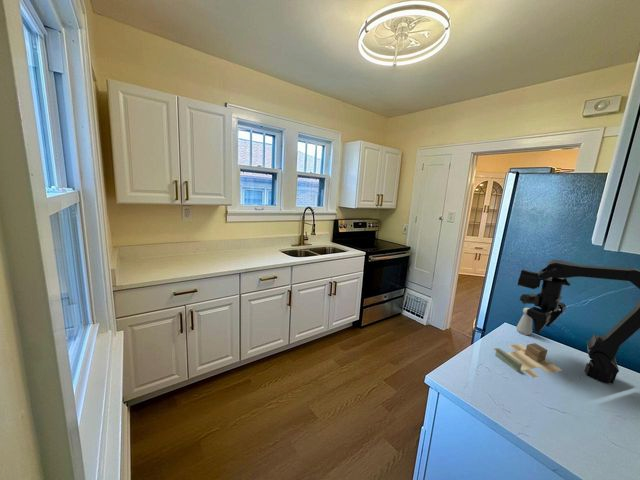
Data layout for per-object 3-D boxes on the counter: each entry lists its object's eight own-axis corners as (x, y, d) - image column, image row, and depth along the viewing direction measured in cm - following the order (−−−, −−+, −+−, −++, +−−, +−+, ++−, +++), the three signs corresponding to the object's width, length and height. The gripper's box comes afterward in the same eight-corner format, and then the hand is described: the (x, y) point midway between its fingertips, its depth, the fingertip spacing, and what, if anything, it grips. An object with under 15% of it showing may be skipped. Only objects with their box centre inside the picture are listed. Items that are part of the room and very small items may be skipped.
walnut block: (532, 352, 106) (535, 343, 104) (544, 360, 101) (547, 350, 100) (524, 354, 104) (527, 344, 103) (536, 361, 100) (539, 351, 99)
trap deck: (519, 346, 111) (521, 337, 110) (562, 372, 97) (565, 363, 96) (486, 352, 106) (488, 343, 105) (526, 381, 92) (529, 371, 91)
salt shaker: (518, 336, 119) (524, 310, 115) (513, 329, 124) (519, 305, 121) (533, 339, 117) (540, 313, 114) (527, 332, 122) (534, 307, 119)
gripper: (536, 281, 110) (529, 314, 114) (514, 289, 101) (507, 325, 105) (570, 290, 101) (561, 326, 105) (550, 301, 92) (541, 339, 95)
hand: (542, 329), depth 103 cm, fingers open, 9 cm apart
